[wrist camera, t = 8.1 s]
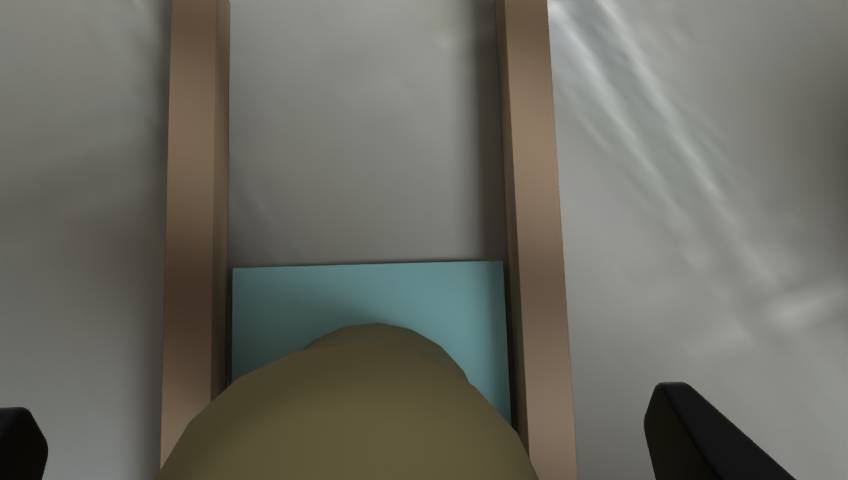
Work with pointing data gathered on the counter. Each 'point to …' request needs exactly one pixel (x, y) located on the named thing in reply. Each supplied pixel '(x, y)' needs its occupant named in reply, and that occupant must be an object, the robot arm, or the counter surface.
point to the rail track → (369, 283)
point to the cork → (352, 418)
